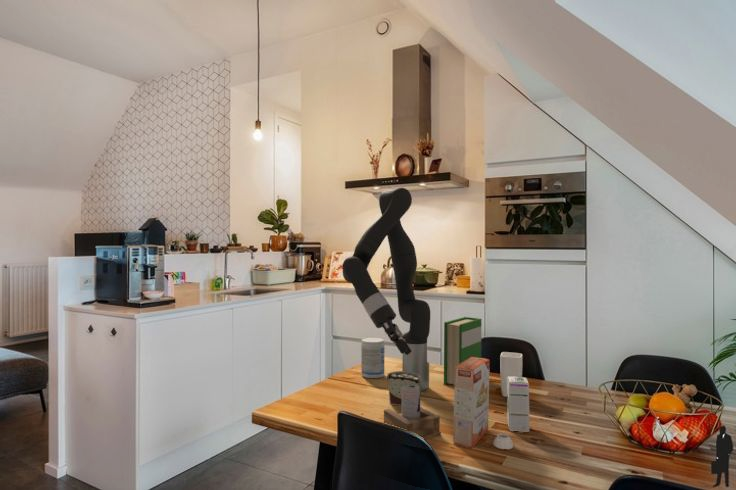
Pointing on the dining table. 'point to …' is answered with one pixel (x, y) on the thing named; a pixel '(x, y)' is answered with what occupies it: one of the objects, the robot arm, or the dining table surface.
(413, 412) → the energy drink
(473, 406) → the cracker box
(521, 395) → the syrup box
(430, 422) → the walnut cradle
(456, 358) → the hardback book
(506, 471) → the dining table surface
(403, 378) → the food container
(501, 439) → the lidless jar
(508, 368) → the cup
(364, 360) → the supplement tub
